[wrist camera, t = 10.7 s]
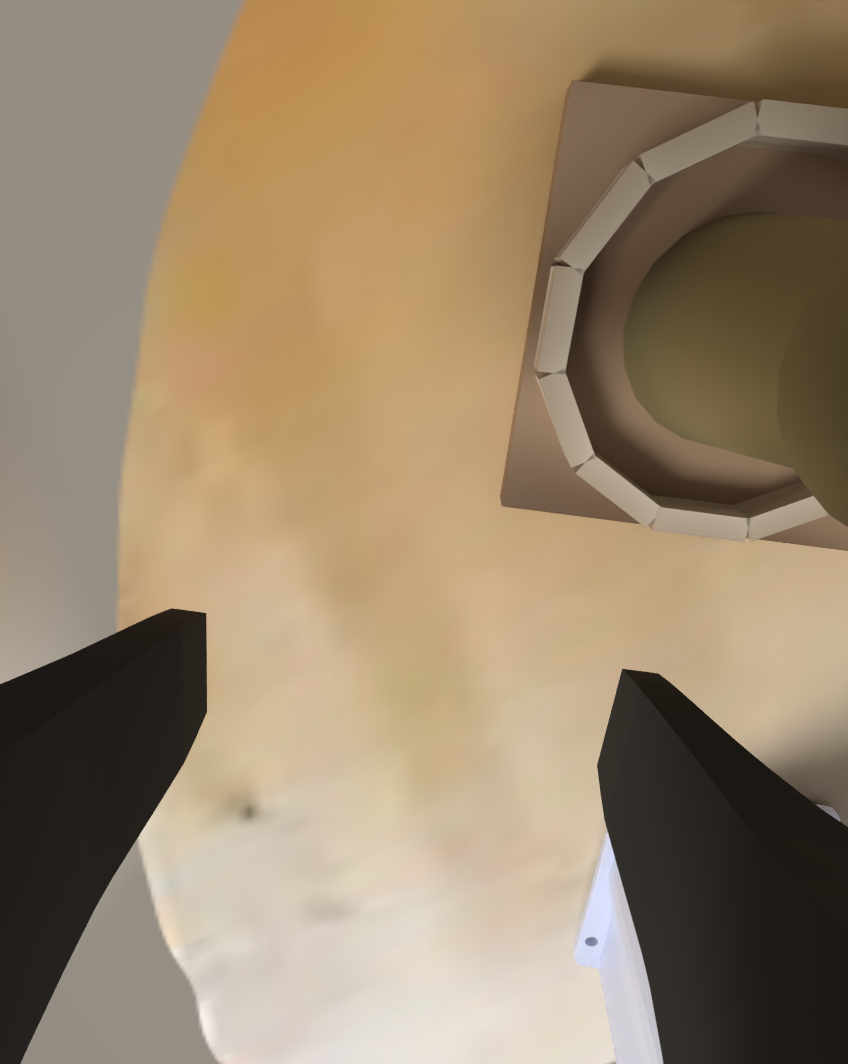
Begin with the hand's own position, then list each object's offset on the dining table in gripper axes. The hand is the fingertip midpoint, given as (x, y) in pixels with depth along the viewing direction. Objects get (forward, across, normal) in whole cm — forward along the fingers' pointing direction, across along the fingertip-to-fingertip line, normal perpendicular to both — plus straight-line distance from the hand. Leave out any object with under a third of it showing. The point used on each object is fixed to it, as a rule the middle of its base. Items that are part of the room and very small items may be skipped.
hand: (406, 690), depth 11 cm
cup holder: (+10, -8, -6) cm, 14 cm away
